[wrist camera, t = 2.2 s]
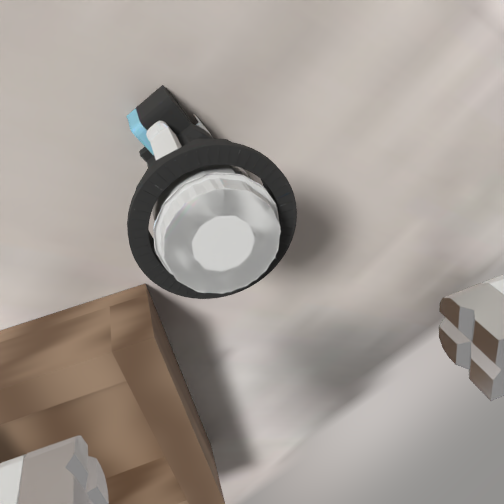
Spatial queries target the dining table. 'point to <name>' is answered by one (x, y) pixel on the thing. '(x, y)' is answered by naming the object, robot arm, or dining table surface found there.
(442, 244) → the dining table surface
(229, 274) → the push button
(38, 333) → the wooden tray
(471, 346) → the robot arm
